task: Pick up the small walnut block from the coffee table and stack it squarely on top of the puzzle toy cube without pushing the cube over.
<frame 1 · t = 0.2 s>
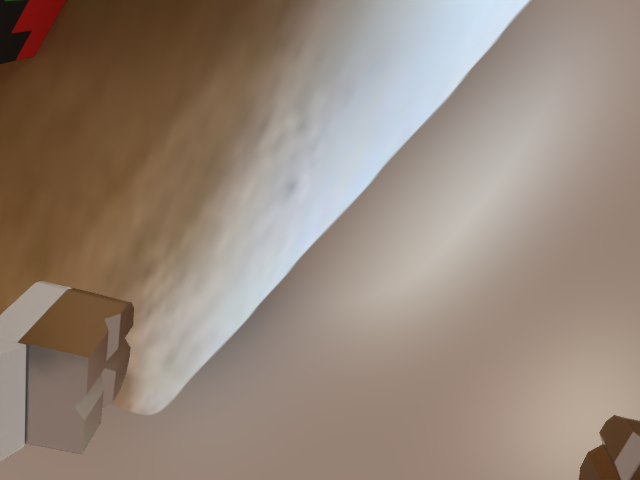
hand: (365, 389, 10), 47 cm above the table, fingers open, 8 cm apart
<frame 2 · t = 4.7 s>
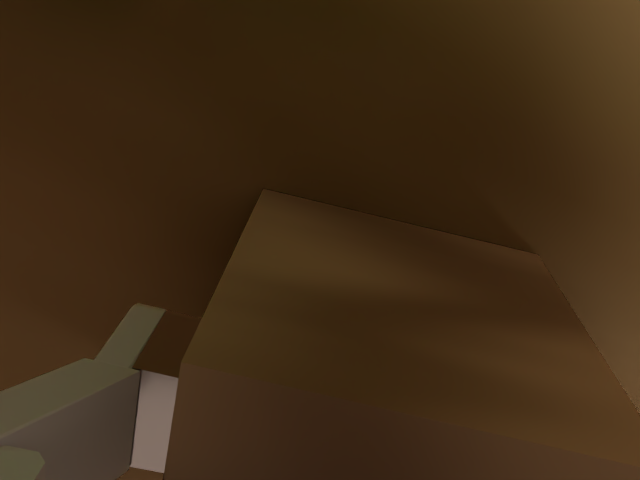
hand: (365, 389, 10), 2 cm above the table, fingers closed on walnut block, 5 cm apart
walnut block: (365, 336, 11), on the table, touching gripper
when the fingers open (13 cm above the table, at t = 10.0 s): walnut block drops 1 cm, resting on puzzle toy.
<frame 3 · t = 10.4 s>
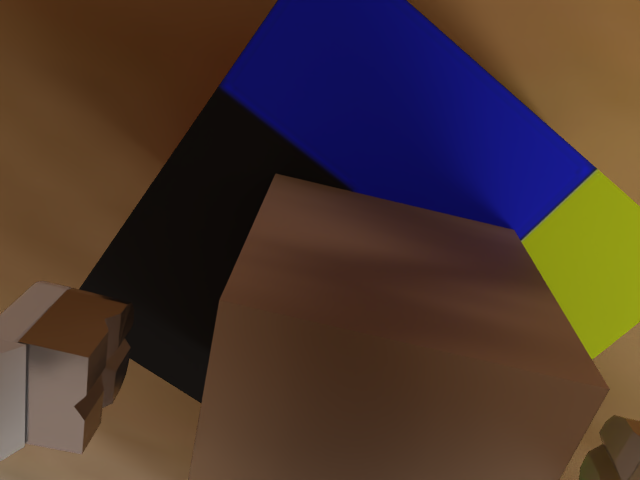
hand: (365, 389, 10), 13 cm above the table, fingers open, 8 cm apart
puzzle toy: (363, 159, 22), on the table, touching walnut block
walnut block: (364, 304, 13), point 10 cm above the table, touching puzzle toy
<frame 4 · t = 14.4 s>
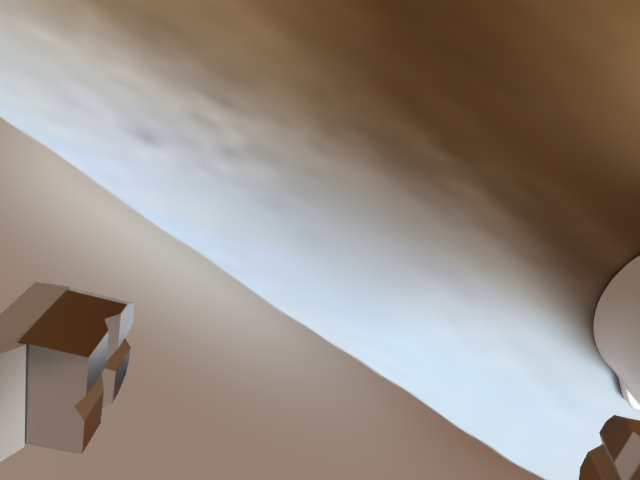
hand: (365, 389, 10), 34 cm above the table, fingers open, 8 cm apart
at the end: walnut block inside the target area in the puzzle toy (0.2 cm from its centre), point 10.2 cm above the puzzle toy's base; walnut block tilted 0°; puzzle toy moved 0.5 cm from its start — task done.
